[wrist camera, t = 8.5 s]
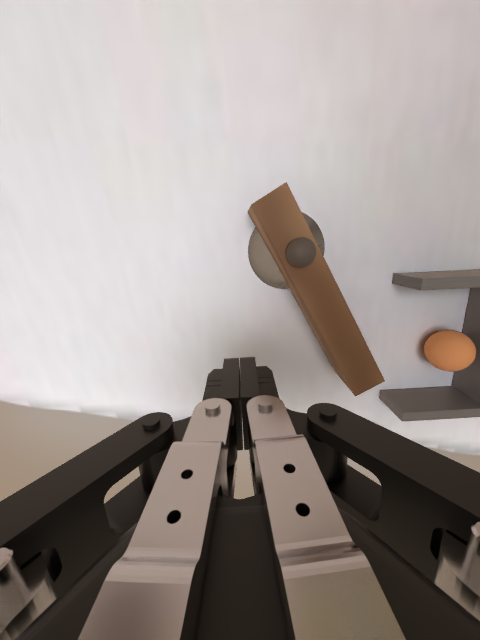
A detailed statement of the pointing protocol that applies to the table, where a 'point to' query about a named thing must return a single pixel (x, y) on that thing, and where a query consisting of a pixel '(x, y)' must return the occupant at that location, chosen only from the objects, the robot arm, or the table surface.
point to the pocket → (468, 384)
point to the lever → (314, 288)
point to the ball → (450, 350)
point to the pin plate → (264, 260)
